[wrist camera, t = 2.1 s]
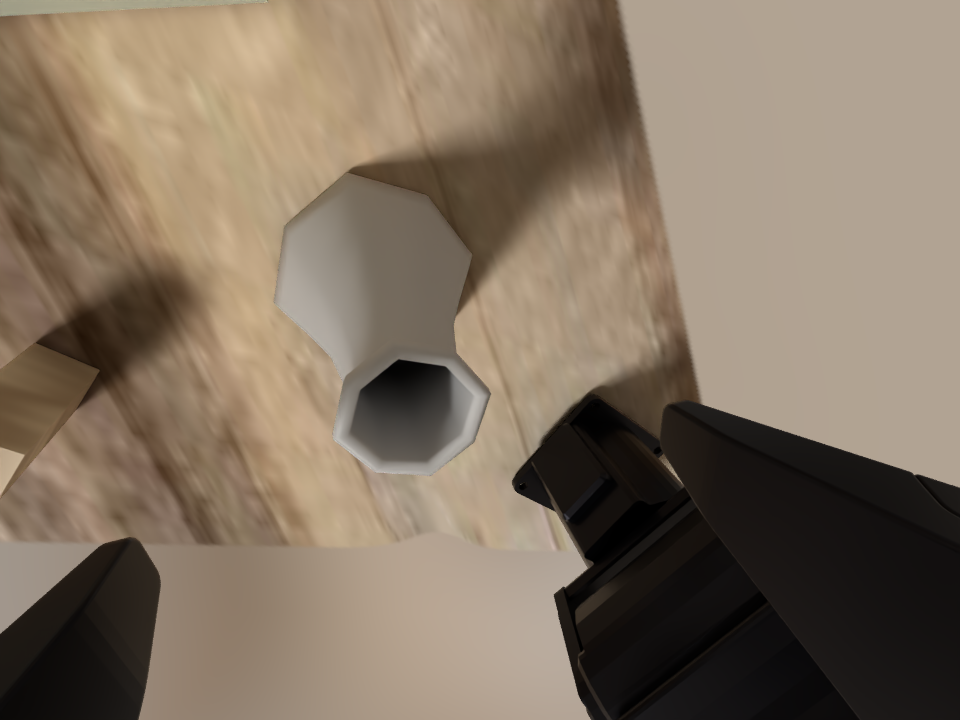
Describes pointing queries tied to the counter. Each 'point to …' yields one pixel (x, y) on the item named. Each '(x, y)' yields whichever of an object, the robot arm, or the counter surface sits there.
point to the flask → (385, 321)
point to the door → (101, 5)
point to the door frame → (36, 405)
